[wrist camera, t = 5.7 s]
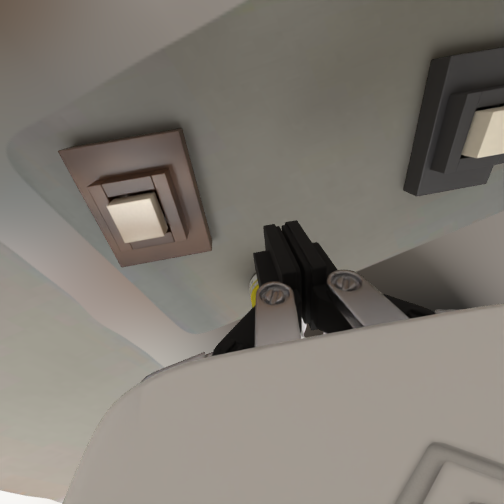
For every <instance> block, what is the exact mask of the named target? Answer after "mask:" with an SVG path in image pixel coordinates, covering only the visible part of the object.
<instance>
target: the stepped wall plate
mask: <svg viewBox="0 0 504 504" xmlns="http://www.w3.org/2000/svg"><path fill="white" fill-rule="evenodd" d="M501 106H504V47H501V48H495V49H489V50H483V51H477V52H471V53H465V54H459V55H453V56H448V57H443V58H438V59H433V60H432V61H431V64H430V69H429V74H428V78H427V83H426V88H425V93H424V97H423V102H422V107H421V111H420V116H419V121H418V125H417V130H416V135H415V139H414V144H413V149H412V153H411V158H410V163H409V167H408V172H407V177H406V181H405V186H404V191H406V192H408V193H410V194H413V195H415V196H421V195H427V194H432V193H438V192H443V191H449V190H454V189H460V188H465V187H471V186H476V185H481V184H486V183H487V180H488V178H489V175H490V173H491V170H492V168H493V165H496V164H501V163H504V153H503V154H498V155H492V156H487V157H481V158H473V157H468V156H464V155H461V154H462V151H463V148H464V145H465V141H466V138H467V135H468V132H469V129H470V126H471V123H472V120H473V117H474V113H475V111H478V110H484V109H490V108H495V107H501Z"/></svg>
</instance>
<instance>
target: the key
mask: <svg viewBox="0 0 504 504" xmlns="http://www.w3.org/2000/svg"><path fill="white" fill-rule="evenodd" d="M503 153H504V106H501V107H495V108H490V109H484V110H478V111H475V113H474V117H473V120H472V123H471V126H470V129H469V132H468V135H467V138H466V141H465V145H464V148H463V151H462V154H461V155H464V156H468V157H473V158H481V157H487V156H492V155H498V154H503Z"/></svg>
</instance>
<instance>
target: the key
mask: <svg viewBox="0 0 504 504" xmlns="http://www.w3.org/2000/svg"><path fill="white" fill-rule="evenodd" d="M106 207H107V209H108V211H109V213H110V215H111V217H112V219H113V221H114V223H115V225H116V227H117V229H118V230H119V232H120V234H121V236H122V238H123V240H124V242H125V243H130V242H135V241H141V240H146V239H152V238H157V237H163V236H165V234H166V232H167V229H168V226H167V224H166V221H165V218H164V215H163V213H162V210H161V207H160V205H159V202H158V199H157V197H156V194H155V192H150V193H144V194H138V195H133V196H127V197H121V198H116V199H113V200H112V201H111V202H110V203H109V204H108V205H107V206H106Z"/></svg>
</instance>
